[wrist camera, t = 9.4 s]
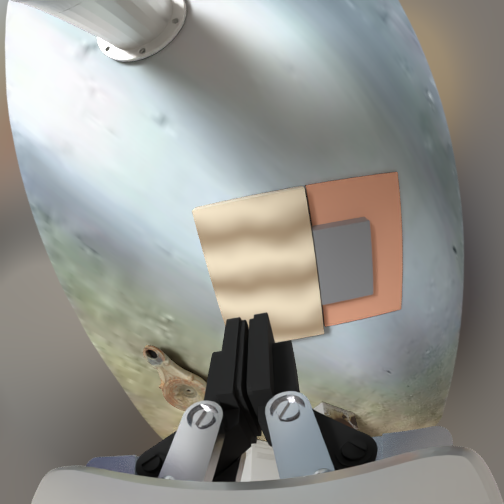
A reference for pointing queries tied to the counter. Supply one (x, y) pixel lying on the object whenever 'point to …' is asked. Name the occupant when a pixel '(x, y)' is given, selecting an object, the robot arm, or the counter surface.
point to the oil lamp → (175, 380)
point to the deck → (263, 260)
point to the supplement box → (260, 463)
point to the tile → (343, 259)
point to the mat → (382, 238)
